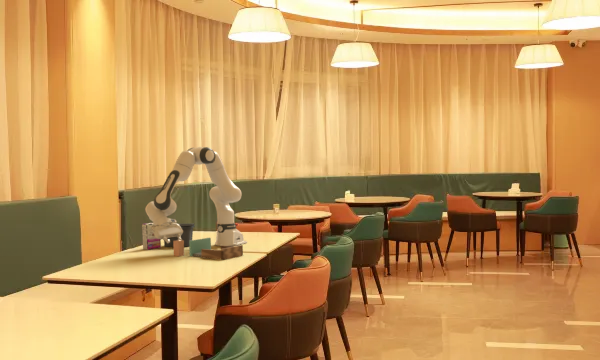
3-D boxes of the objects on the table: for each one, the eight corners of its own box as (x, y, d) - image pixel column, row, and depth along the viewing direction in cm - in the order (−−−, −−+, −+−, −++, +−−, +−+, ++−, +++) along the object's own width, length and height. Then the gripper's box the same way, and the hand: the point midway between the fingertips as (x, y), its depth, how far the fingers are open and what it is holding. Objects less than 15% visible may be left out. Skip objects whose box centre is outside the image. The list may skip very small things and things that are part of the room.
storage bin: (159, 247, 422) (158, 225, 422) (166, 244, 437) (165, 223, 437) (191, 247, 420) (190, 225, 419) (197, 244, 435) (196, 222, 435)
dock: (222, 253, 389) (221, 243, 389) (242, 255, 380) (242, 245, 380) (201, 257, 374) (201, 247, 374) (222, 259, 365) (222, 249, 365)
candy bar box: (156, 247, 423) (155, 222, 423) (161, 247, 420) (160, 222, 420) (142, 249, 414) (141, 223, 414) (147, 250, 411) (146, 224, 411)
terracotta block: (179, 254, 387) (178, 239, 387) (184, 255, 385) (183, 240, 385) (173, 256, 384) (173, 240, 383) (178, 256, 381) (178, 241, 381)
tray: (209, 252, 394) (208, 237, 394) (229, 254, 385) (229, 239, 385) (189, 256, 380) (189, 240, 380) (210, 258, 371) (210, 242, 371)
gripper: (152, 222, 381) (164, 240, 376) (177, 219, 398) (189, 236, 393) (147, 229, 383) (159, 247, 378) (172, 226, 400) (184, 243, 395)
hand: (174, 241), depth 386 cm, fingers open, 8 cm apart
